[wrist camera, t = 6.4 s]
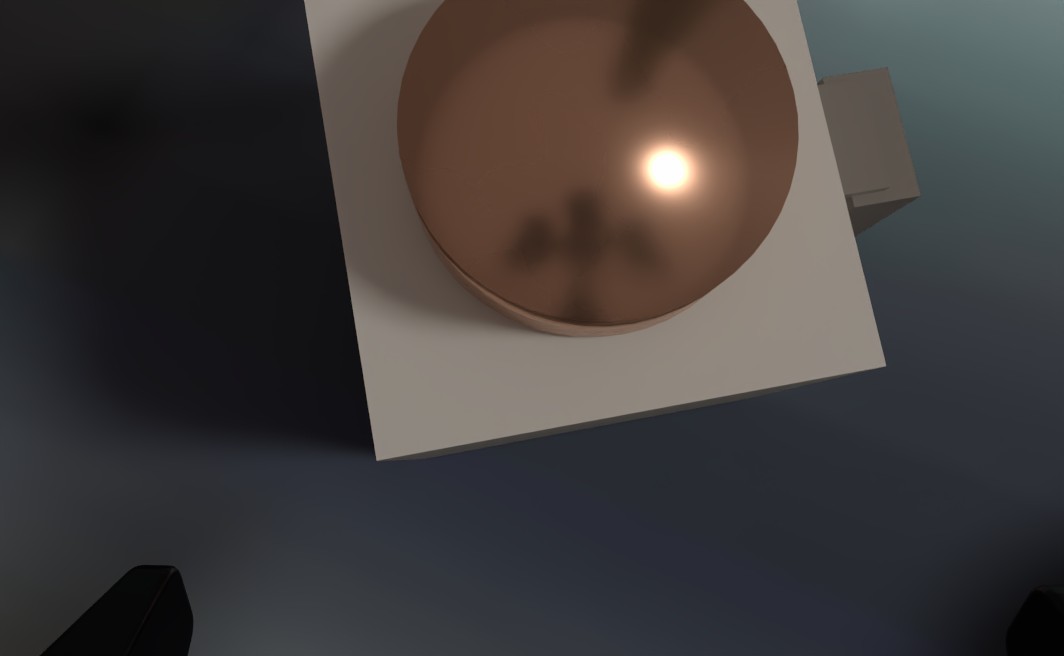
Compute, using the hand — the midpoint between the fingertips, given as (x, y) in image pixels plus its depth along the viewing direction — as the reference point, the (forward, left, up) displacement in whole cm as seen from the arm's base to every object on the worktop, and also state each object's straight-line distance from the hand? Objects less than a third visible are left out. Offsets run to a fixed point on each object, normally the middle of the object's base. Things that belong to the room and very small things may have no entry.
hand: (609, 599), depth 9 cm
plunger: (+6, -1, -9) cm, 11 cm away
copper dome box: (+6, -1, -12) cm, 13 cm away
